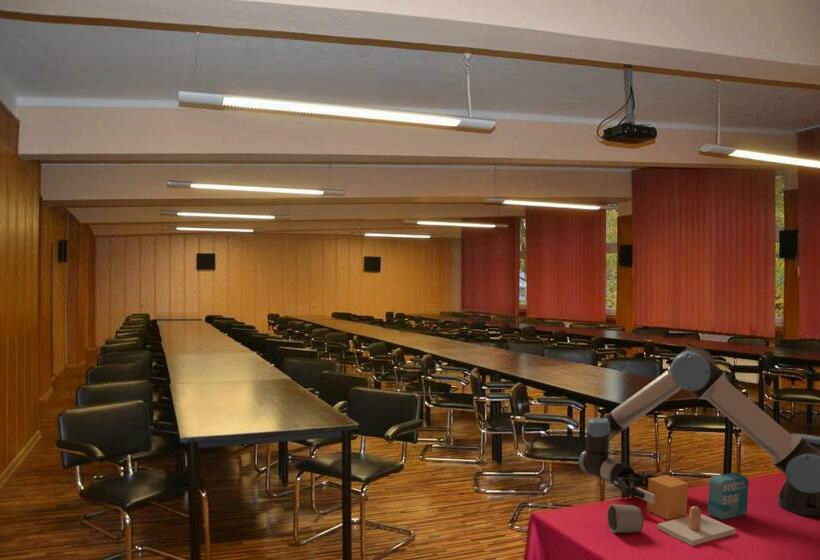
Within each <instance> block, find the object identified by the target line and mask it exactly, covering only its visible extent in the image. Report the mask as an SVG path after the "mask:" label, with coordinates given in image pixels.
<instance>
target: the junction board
mask: <svg viewBox="0 0 820 560" xmlns="http://www.w3.org/2000/svg"><path fill="white" fill-rule="evenodd" d="M657 528H658V529H660V530H661V531H660V530H659V531H660V532H662V531H663V533H664V532H665V534H666V533H667V535H669V536H670V537H673V538H675V539H677V540H679V541H681V542H682V543H686V544H687V545H689V546H691V547H692V546H693V547H694V546H698V545H700V544H703V543H704V544H705V543H707V542H710V541H714V540H717V539H722V538H725V537H728V536H732V535H735V534H736V528H735V527H732V526H730V525H727V524H725V523H723V522H721V521H718V520H716V519H713V518H712V517H709V516H707V515H705V514H703V513H702V510H701V508H699V506H696V505H694V506H691V507H690V508H689V515H686V516H683V517H679V518H675V519H671V520H667V521H663V522H660V523H657V525H656V529H657ZM658 529H657V530H658Z"/></svg>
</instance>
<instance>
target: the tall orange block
mask: <svg viewBox="0 0 820 560" xmlns="http://www.w3.org/2000/svg"><path fill="white" fill-rule="evenodd" d="M658 476H659V477H654V478H649V479H648V486H647V492H650V493H652V494H654V495H655V504H652V503H649V502H647V501H646V502H647V503H646V504H647V505H646V511H647V512H649V511H650V513H651V512H652V513H651V514H653V513H654V515H656V514H657V515H656V516H658V515H659V516H658V517H660V516H661V517H660V518H662V517H663V518H662V519H664V518H666V519H667V521H670V520H669V519H671V520H674V519H673V518H675V519H679V518H683V517H686V516H688V515H687V509H688V494H689V493H688V492H689V491H688V490H689V483H688V482H686V481H684V480H681V479H679V478H676V477H673V476H670V475H667V474H666V475H661V476H660V475H658ZM685 515H686V516H685ZM682 516H683V517H682ZM678 517H679V518H678ZM666 519H665V520H666Z"/></svg>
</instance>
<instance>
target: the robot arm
mask: <svg viewBox="0 0 820 560" xmlns="http://www.w3.org/2000/svg"><path fill="white" fill-rule="evenodd" d="M682 389H683V390H685V391H689V392H690V393H691V394H692V395H693V396H694V397H695V398H697V399H698V400H706V401H708V402H709V403H710V404H711V405H712V406H713V407H715V408H716V410H718V411H719V412H720V413H721V414H723V416H725V417H726V418H728V420H729V421H730V422H732V423H733V424H734V426H737V427H738V428H739V429H740V431H741V432H743V433H745V435H747V436H748V437H749V438H750V439H751V440H752V441H754V442H755V443H756V444H757V445H758V446H760V448H762V450H764V451H765V452H766V453H768V454H769V455H770V456H771V457H770V458H771V462H772V465H774V466H775V467H776V468H777V469H778V470H779V471H780V472H781V473H783V474H784V475H785V480H784V483H783V485H782V487H781V490H780V492H779V493H778V498H777V503H778V506H779V507H781V509H784V510H786V511H788V512H791V513H794V514H798V515H801V516H807V517H814V518H820V436H817V435H811V434H805V433H804V434H803V433H801V434H800V433H789V432H788V431H787V430H786V429H784V427H783V426H781V425H780V424H779V423H778V422H777V421H776V420H774V419H773V418H772V417H771V416H770V415H768V414H767V413H766V412H765V411H764V410H762V409H761V408H760V407H759V406H758V405H756V404H755V403H754V402H753V401H751V400H750V399H749V398H748V397H747V396H746V395H744V394H743V393H742V392H741V391H740V390H738V389H737V388H736V387H735V386H734V385H733V384H732V383H730V381H728V380H727V377H726V372H725V371H724V370H723V369H721V368H720V367H719V366H718V365H717V364H715V360H714V357H713V356H712V354H711V353H710V352H709V351H707V349H704V348H701V347H698V346H697V347H696V346H693V347H692V346H691V347H688V348H686V349H684V350H682V351H681V352H680V353H678V354H677V355H676V356H675V358H673V359H672V362H671V363H670V364H668V365H667V370H666V371H664V372H663V373H661V374H660V375H658V376H657V377H656V378H654V379H653V380H652V381H650V382H649V383H647V384H646V385H645V386H644V387H642V388H641V389H639V390H638V391H637V392H635V393H634V394H633V395H631V396H630V397H629V398H627V399H626V400H625V401H623V402H622V403H621V404H619V405H617V406H616V407H615V408H614V409H612V410H611V411H609V412H608V413H607V414H605V415H603V416H602V417H593V418H592V417H591V418H589V419H588V420H587V426H586V447H585V450H584V451H582V452H581V454H580V456H579V458H578V466H579V468H580V469H581V471H584V472H586V473H587V474H588V475H591V476H593V477H596V478H598V479H600V480H603V481H605V482H607V483H609V484H610V485H612V484H613V486H614V487H615V488H617V489H618V490H619V491H621V493H622V494H623V495H624V496H625V497H630V499H636V498H639V499H641V500H644V501H645V502H649V503H652V504H655V495H654V494H652V493H650V492H648V490H645V489H644V487H645V488H648V479H649V478H654V477H659V476H660V475H656V474H652V473H649V472H645V471H644V472H643V471H642V473H641V474H640V473H638V472H635V470H634V469H633V467H632V466H630V465H627V464H625V463H623V462H620V461H617V460H615V459H612V458H610V456H609V455H610V454H609V453H610V442H611V441H612V440H613V438H615V437H616V436H618V434H620V433H621V432H623V431H624V430H625V429H627V428H628V427H630V426H631V425H632V424H634V423H635V422H637V421H638V420H639V419H641V418H642V417H643V416H645V415H647V414H648V413H650V411H652V410H653V409H655V408H657V407H658V406H660V405H661V404H662V403H664V402H665V401H666V400H668V399H669V398H671V397H672V396H673V395H675V394H676V393H678V392H679V391H680V390H682ZM640 487H643V489H642V488H640Z"/></svg>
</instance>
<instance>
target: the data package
mask: <svg viewBox="0 0 820 560" xmlns="http://www.w3.org/2000/svg"><path fill="white" fill-rule="evenodd" d="M749 481H750V480H749V478H748V476H744V475H741V474H740V473H736V472H729V473H724V474H718V475H712V476H711V477H710V478H709V481H708V494H707V495H708V497H707V514H708V515H710V516H712V517H715V518H716V519H719V520H721V521H724V520H723V519H725V520H729V519H733V518H732V517H734V518H738V517H742V515H743V516H744V515H746V514H747V511H748V501H749V500H748V497H749V483H750V482H749ZM728 518H729V519H728Z"/></svg>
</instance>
